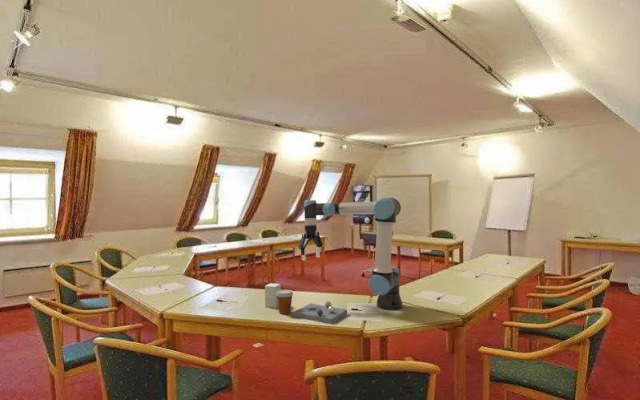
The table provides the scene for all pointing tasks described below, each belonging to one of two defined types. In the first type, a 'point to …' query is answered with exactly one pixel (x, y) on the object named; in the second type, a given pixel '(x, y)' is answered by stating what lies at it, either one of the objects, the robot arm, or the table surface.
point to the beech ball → (328, 304)
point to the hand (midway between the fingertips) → (311, 258)
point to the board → (311, 314)
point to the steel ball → (331, 309)
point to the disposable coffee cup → (284, 301)
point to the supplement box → (271, 295)
